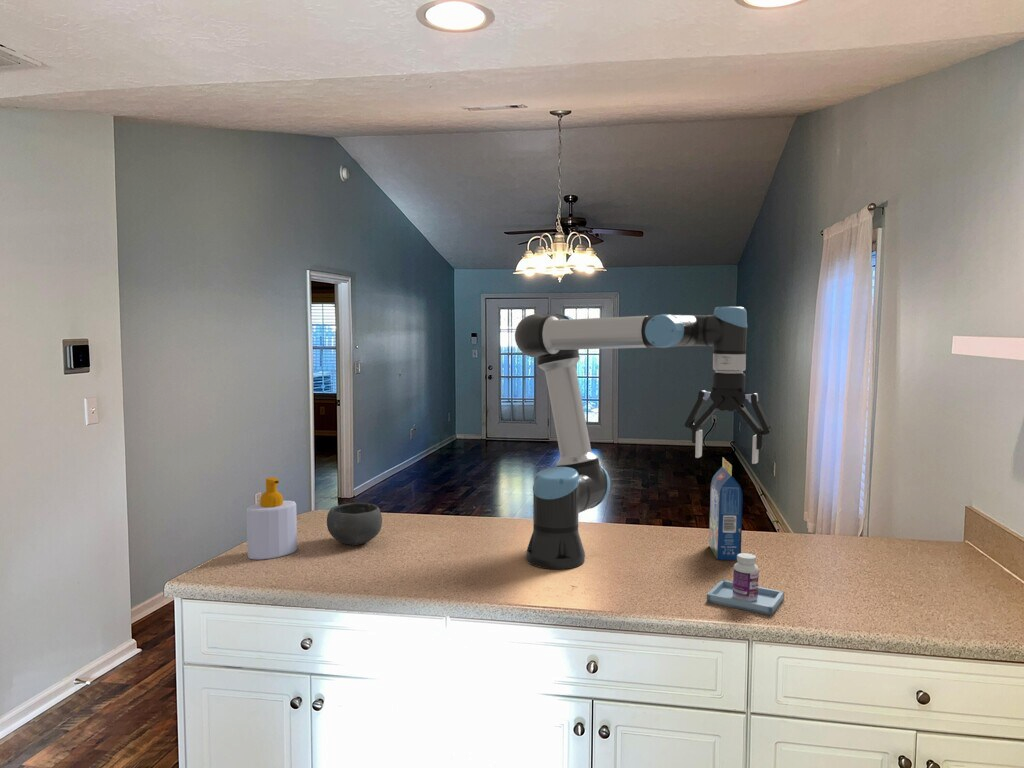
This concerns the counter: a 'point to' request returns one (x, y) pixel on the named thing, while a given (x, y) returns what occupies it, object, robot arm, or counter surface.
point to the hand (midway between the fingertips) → (726, 460)
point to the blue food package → (725, 514)
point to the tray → (763, 604)
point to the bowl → (354, 522)
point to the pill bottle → (745, 578)
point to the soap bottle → (271, 525)
